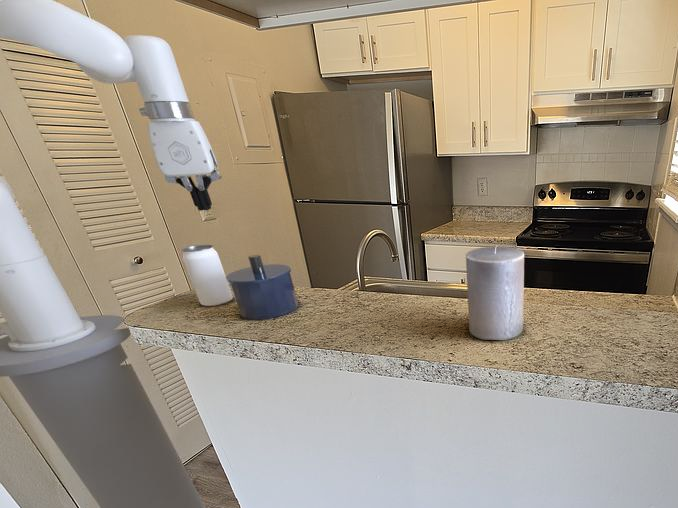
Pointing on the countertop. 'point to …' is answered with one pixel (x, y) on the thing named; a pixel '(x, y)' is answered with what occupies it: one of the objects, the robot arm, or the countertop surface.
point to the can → (207, 275)
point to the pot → (265, 298)
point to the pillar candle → (495, 292)
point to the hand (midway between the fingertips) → (205, 209)
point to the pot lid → (257, 272)
